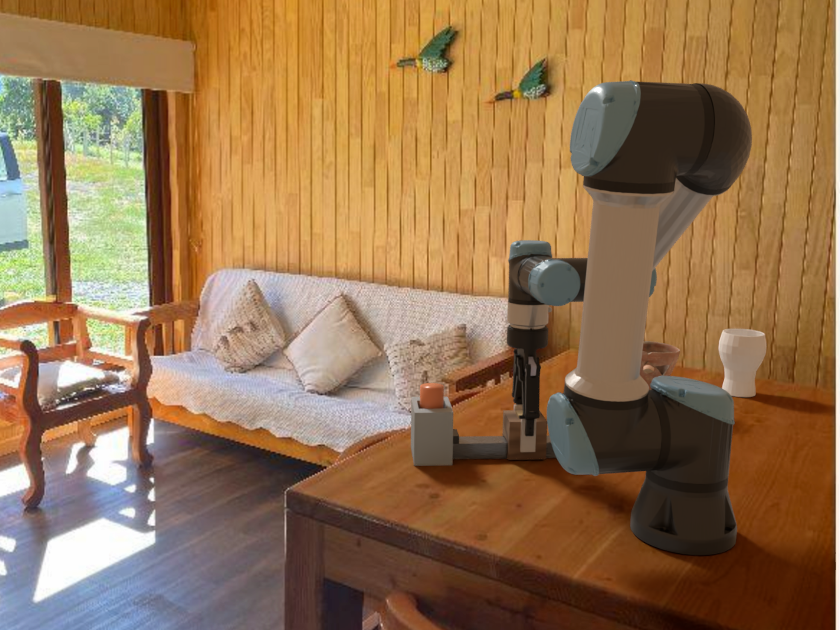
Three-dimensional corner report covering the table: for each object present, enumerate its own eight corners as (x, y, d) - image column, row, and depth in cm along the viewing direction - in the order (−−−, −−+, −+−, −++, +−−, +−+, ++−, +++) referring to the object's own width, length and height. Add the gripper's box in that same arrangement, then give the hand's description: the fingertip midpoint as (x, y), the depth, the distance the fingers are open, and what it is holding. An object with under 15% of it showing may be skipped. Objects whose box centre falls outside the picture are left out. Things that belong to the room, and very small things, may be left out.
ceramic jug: (679, 421, 176) (684, 356, 173) (610, 413, 180) (615, 350, 178) (681, 400, 193) (686, 341, 190) (618, 393, 197) (622, 336, 195)
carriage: (545, 459, 152) (547, 418, 150) (508, 459, 151) (509, 418, 150) (537, 446, 158) (539, 407, 157) (502, 446, 158) (503, 407, 156)
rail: (577, 457, 154) (578, 434, 153) (450, 459, 152) (451, 436, 151) (572, 450, 157) (573, 427, 157) (448, 451, 156) (448, 429, 155)
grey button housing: (452, 465, 149) (453, 412, 147) (413, 465, 148) (414, 412, 147) (446, 446, 159) (447, 396, 157) (410, 446, 158) (411, 397, 156)
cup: (709, 386, 204) (714, 327, 201) (752, 387, 203) (758, 328, 200) (723, 398, 193) (728, 336, 190) (768, 399, 193) (774, 337, 190)
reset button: (444, 420, 150) (445, 389, 149) (420, 421, 150) (420, 389, 149) (442, 413, 155) (442, 382, 153) (418, 413, 154) (419, 383, 153)
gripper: (560, 336, 141) (555, 463, 145) (537, 315, 160) (533, 427, 164) (517, 336, 140) (512, 463, 144) (499, 315, 160) (496, 427, 164)
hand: (523, 444), depth 154 cm, fingers closed on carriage, 7 cm apart
